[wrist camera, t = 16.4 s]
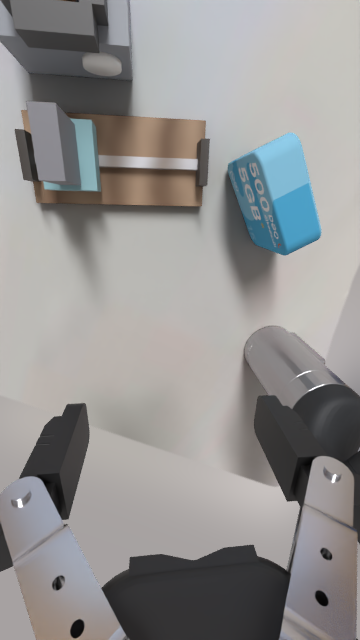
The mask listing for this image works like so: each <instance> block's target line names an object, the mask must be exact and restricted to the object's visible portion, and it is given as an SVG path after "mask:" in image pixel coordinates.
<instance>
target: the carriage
mask: <svg viewBox="0 0 360 640" xmlns="http://www.w3.org/2000/svg"><path fill="white" fill-rule="evenodd" d="M26 104H27V110H28V116H29V123H30V129H31V135H32V142H33V148H34V154H35V160H36V167H37V173H38V179H39V180H40V181H43V183H44V189H46V190H58V191H96V192H101V183H100V171H99V159H98V147H97V135H96V126H95V125H94V123H93V121H92V120H88V119H70V118H69V117H68V116H67V115H66V114H65V113H64V112H63V110H62V109H61V108H60V107H59V106H58V105H57V104H56V103H51V102H35V101H26Z"/></svg>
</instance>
